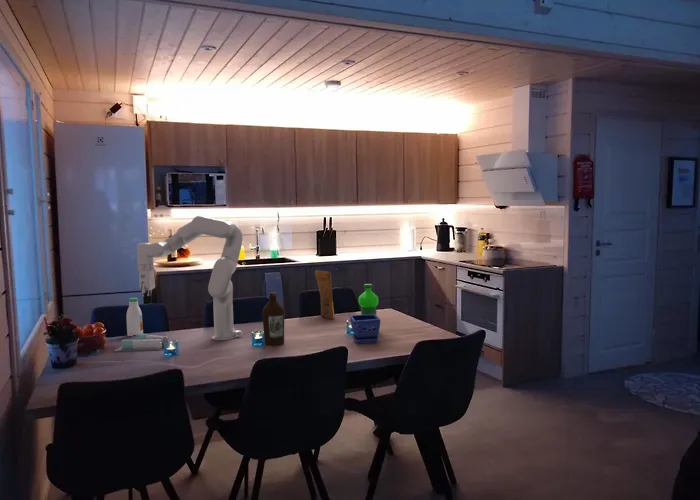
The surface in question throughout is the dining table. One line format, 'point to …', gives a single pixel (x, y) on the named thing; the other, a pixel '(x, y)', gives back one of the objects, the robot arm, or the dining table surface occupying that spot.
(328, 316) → the pancake mix bag
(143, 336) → the toothpaste tube
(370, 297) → the plastic bottle
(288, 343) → the dining table surface
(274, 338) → the olive oil
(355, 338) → the flower pot
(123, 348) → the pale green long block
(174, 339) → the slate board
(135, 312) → the milk bottle
